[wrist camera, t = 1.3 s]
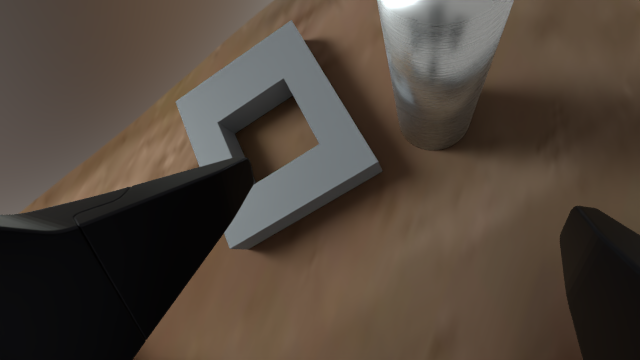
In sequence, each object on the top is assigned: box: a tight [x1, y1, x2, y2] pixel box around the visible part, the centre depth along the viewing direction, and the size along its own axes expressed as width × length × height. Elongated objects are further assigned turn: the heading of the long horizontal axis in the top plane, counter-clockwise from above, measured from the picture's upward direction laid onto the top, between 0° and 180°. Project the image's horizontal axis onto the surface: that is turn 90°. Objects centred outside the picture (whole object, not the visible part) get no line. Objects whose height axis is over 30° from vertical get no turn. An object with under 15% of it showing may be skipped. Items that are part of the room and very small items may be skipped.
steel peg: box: [377, 0, 514, 150], centre depth 16 cm, size 5×5×13 cm
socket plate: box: [176, 20, 382, 249], centre depth 25 cm, size 14×12×2 cm
